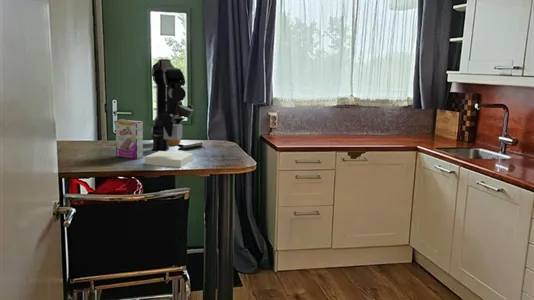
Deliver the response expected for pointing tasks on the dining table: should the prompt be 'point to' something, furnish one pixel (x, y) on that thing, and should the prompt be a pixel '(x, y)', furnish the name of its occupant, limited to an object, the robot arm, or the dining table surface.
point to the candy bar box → (129, 139)
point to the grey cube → (174, 132)
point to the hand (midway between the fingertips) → (172, 135)
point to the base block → (169, 158)
